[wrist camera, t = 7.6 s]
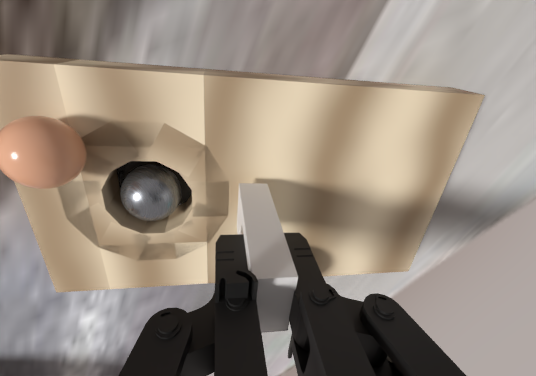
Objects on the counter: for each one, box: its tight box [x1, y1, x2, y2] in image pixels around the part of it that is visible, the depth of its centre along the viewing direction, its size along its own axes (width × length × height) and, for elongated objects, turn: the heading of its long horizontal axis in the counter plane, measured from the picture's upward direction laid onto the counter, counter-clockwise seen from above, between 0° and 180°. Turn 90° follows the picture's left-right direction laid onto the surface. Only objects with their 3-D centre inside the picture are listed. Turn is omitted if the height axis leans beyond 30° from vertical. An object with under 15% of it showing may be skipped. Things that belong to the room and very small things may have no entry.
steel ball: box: [120, 165, 182, 221], centre depth 16 cm, size 3×3×3 cm
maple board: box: [0, 54, 485, 292], centre depth 17 cm, size 24×13×2 cm, turn 85°
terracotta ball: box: [0, 116, 86, 189], centre depth 12 cm, size 3×3×3 cm
